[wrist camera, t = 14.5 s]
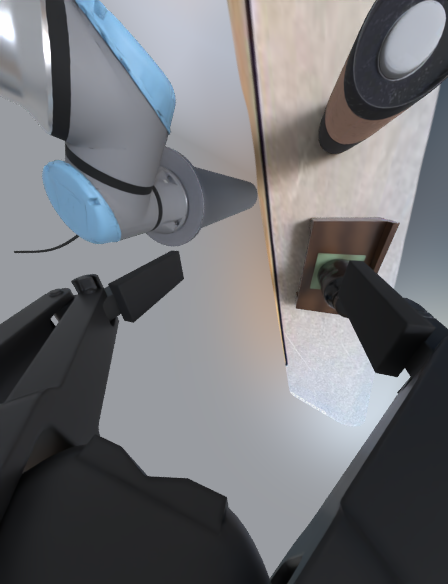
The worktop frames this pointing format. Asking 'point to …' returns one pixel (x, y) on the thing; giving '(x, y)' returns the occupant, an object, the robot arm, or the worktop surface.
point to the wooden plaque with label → (341, 252)
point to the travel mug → (386, 70)
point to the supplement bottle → (332, 283)
